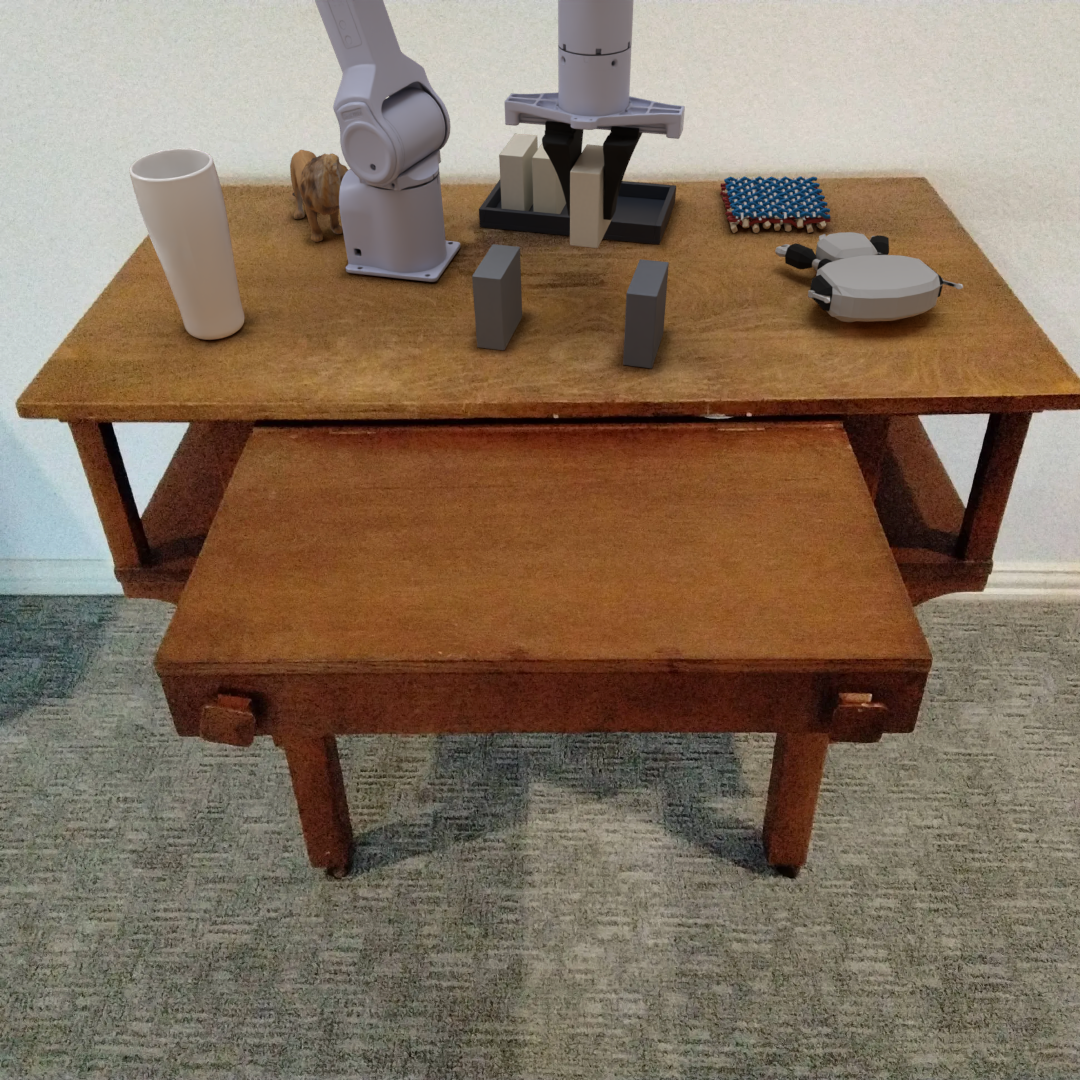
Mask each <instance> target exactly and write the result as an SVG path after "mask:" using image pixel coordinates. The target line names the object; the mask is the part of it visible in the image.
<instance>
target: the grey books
mask: <svg viewBox="0 0 1080 1080" xmlns="http://www.w3.org/2000/svg"><path fill="white" fill-rule="evenodd" d="M521 265H522V264H521V246H514V245H505V244H495V243H493V244H491V246H490V247H489V249H488V250H487V252H486V254H485V255H484V257H483V259H482V260H481V262H480V263H479V265H478V266H477V267H476V269H475V271H474V272H473V274H472V275H471V282H472V295H473V297H472V298H473V308H474V321H475V335H476V348H481V349H490V350H498V351H505V350H506V348H507V347H508V344H509V343H510V341H511V339H512V338H513V335H514V333H515V331H516V329H517V328H518V325H519V324H520V322H521V320H522V318H523V296H522V295H523V294H522V293H523V292H522V270H521V269H522V266H521ZM668 277H669V261H661V260H652V259H651V260H650V259H642V258H641V259H639V260H638V262H637V265H636V268H635V271H634V272H633V275H632V278H631V280H630V283H629V285H628V288H627V291H626V295H625V313H624V315H625V316H624V334H623V335H624V340H623V361H622V364H623V366H628V367H635V368H645V369H653V367H654V364H655V360H656V357H657V354H658V352H659V348H660V344H661V341H662V338H663V336H664V331H665V320H666V319H665V317H666V303H667V291H668Z"/></svg>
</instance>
